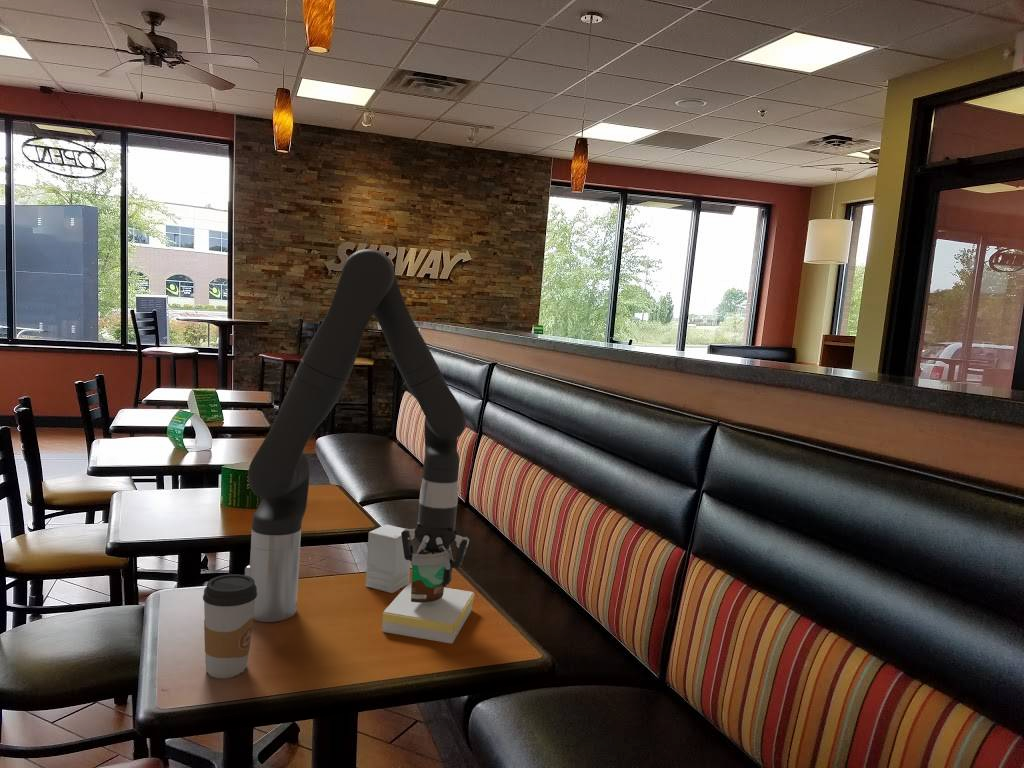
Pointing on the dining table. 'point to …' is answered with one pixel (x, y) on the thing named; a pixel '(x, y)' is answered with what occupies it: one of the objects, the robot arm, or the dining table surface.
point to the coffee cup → (228, 623)
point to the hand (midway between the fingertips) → (431, 583)
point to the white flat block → (428, 615)
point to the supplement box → (387, 560)
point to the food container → (428, 575)
